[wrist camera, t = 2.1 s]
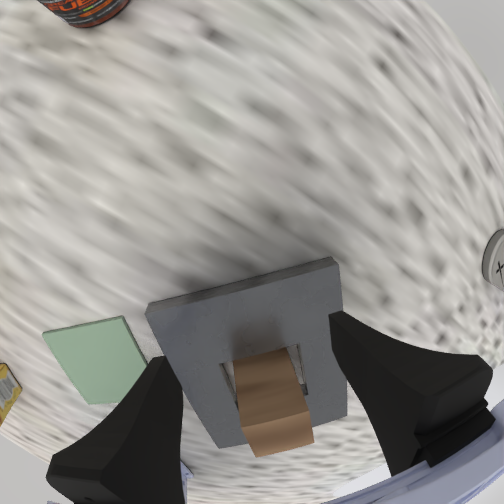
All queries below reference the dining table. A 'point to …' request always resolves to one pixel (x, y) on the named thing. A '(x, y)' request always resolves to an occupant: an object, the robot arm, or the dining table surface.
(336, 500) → the robot arm
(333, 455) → the dining table surface
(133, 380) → the pad
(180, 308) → the grey plate with hole
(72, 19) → the supplement bottle
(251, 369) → the plug
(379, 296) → the dining table surface
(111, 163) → the dining table surface
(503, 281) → the travel mug
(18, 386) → the candy box
